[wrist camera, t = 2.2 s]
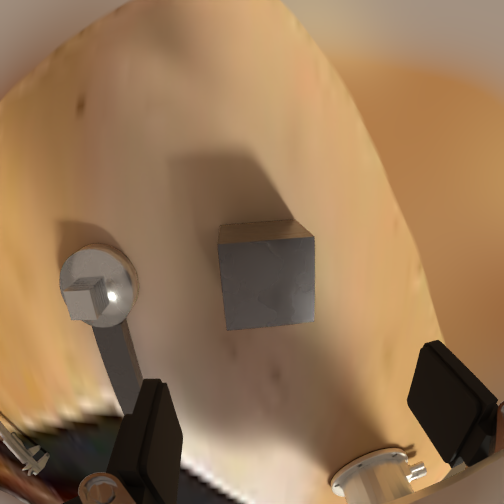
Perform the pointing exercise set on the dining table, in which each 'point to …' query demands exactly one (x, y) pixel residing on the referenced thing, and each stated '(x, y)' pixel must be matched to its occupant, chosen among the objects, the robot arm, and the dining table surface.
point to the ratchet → (106, 311)
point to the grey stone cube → (267, 274)
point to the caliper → (23, 451)
